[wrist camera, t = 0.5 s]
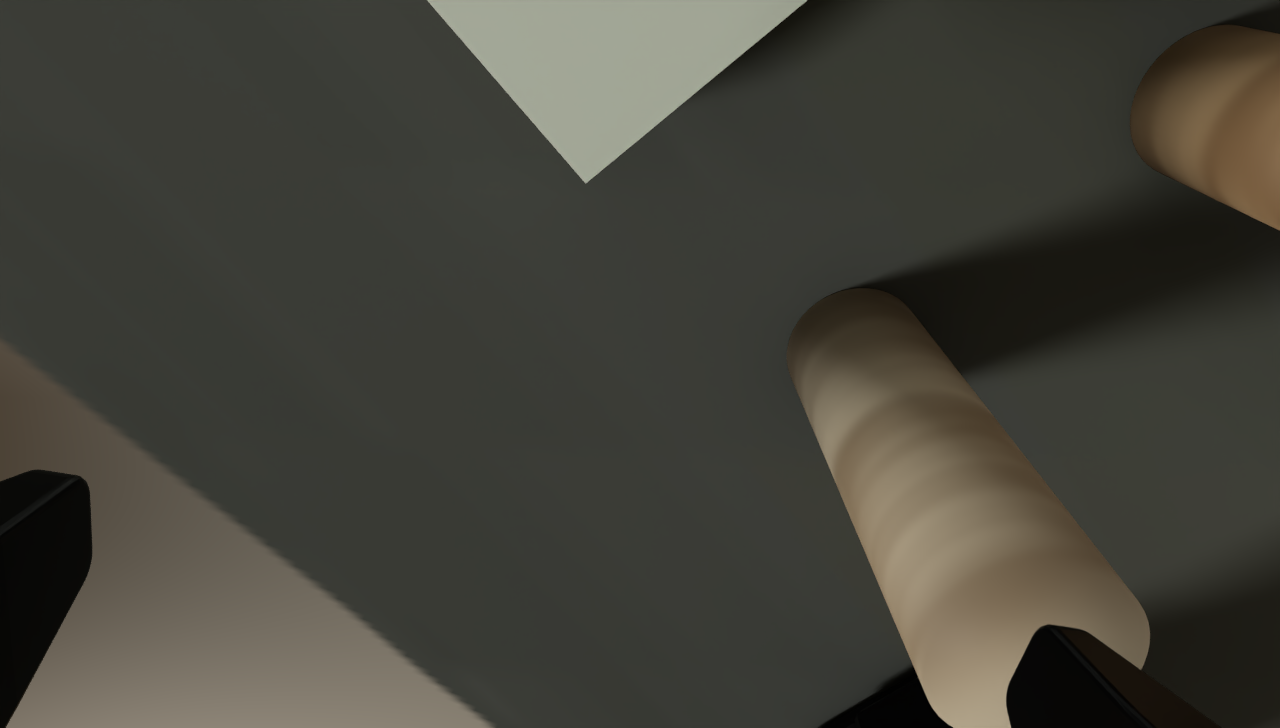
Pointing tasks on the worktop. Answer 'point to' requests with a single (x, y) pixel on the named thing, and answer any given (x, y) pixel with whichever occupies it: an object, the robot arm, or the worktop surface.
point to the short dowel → (1216, 117)
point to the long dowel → (948, 508)
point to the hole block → (606, 61)
